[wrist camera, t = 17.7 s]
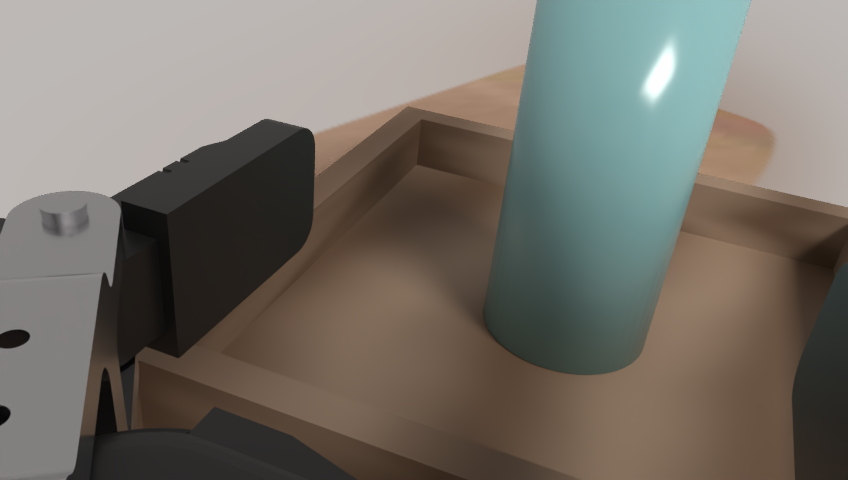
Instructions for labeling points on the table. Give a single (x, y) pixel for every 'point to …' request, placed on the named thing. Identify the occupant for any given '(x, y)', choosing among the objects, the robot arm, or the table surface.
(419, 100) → the table surface
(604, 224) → the teal canister
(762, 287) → the walnut tray
